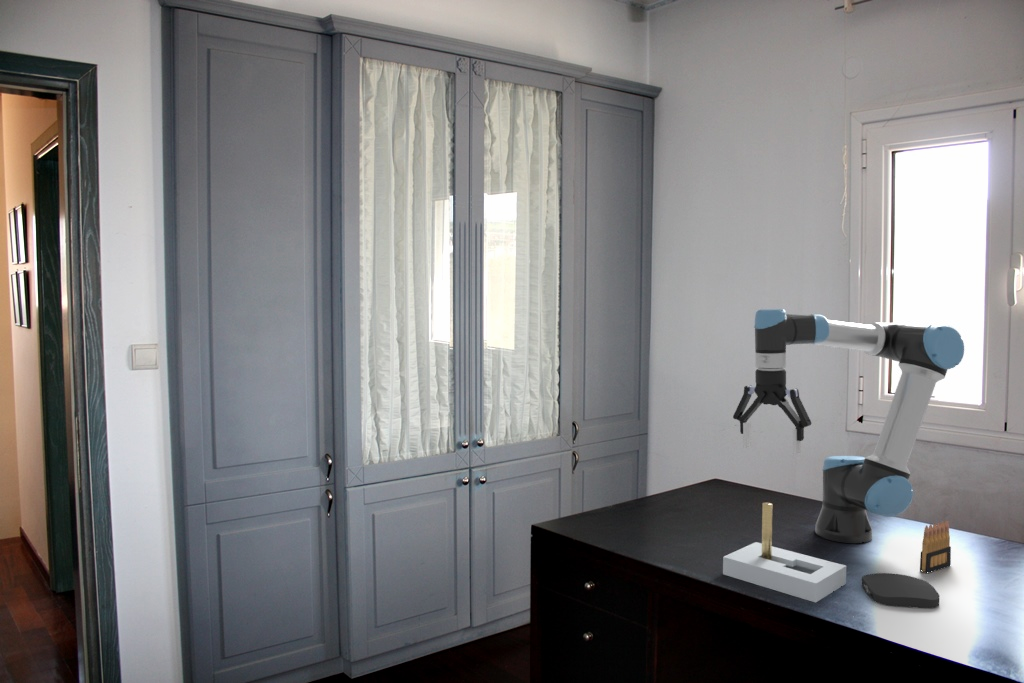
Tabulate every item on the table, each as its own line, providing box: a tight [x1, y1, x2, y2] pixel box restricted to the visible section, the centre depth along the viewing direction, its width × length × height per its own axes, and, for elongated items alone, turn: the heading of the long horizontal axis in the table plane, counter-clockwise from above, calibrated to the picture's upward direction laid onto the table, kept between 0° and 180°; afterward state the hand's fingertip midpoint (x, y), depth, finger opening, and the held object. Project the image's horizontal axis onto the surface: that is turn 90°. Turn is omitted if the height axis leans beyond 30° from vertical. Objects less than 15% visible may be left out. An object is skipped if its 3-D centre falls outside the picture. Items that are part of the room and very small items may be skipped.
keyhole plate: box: [722, 541, 847, 603], centre depth 189 cm, size 24×16×4 cm, turn 43°
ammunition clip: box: [919, 519, 952, 574], centre depth 195 cm, size 11×2×12 cm, turn 121°
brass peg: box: [761, 502, 774, 560], centre depth 192 cm, size 5×5×18 cm
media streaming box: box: [861, 572, 940, 609], centre depth 179 cm, size 15×15×3 cm
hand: (771, 449), depth 199 cm, fingers open, 13 cm apart
